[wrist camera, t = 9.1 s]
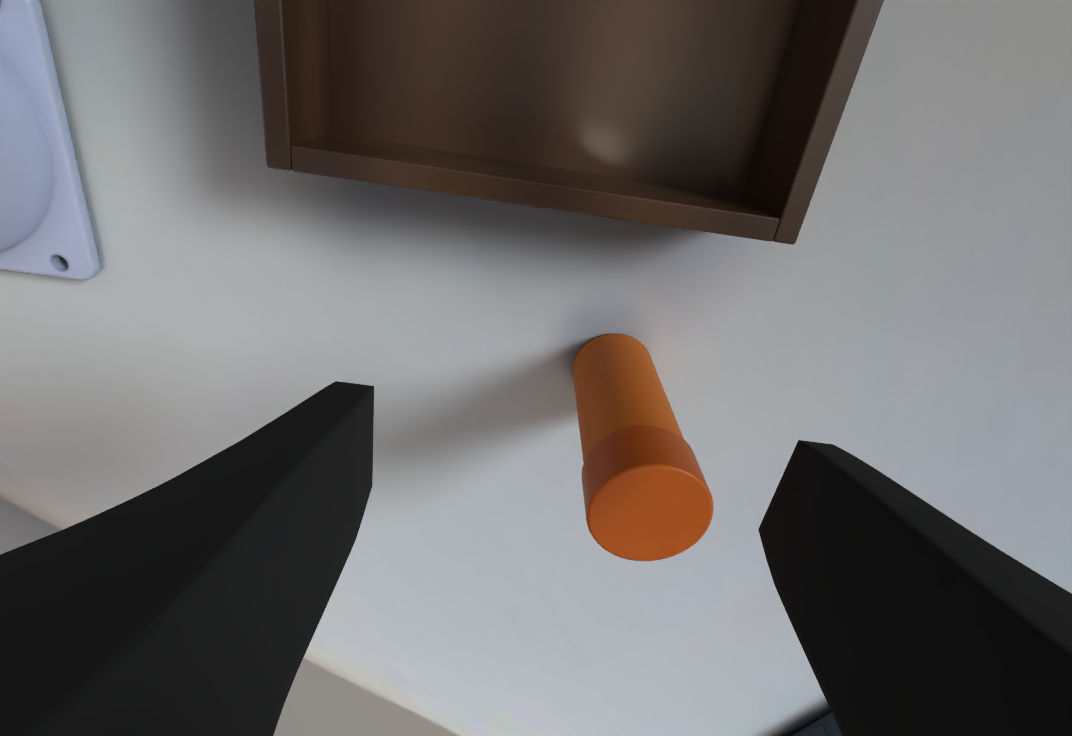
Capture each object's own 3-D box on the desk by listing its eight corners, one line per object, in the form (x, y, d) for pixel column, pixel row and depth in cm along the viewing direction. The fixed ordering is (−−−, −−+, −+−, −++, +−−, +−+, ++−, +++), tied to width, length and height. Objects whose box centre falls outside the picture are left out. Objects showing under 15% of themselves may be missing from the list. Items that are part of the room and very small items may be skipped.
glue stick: (563, 399, 20) (576, 555, 14) (577, 324, 19) (600, 458, 12) (643, 409, 21) (694, 568, 14) (663, 336, 19) (731, 474, 12)
